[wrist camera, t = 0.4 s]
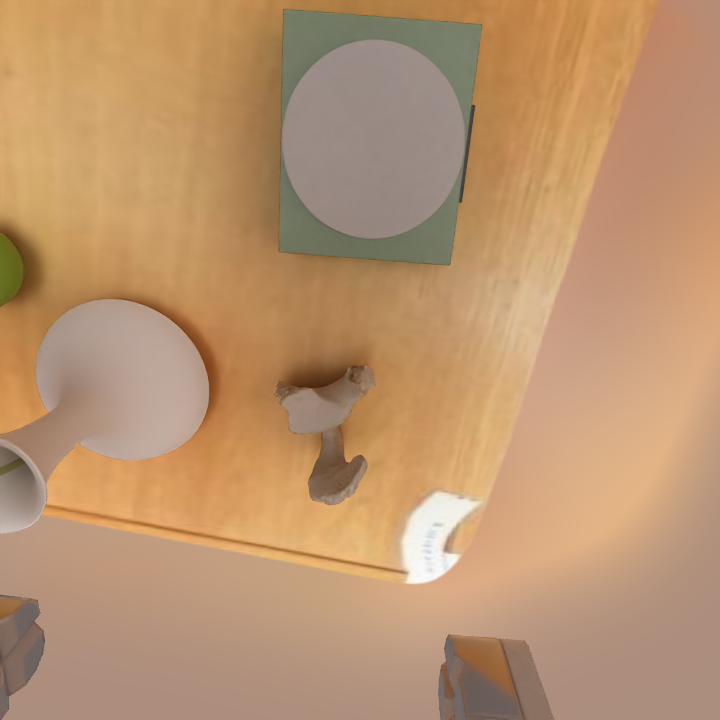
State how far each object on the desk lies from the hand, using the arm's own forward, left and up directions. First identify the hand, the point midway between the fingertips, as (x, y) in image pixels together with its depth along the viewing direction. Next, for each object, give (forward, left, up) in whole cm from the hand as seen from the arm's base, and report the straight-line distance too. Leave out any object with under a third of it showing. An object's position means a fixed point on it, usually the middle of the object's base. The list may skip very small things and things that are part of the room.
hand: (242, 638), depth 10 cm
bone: (+5, 0, -24) cm, 25 cm away
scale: (-11, +2, -24) cm, 27 cm away
